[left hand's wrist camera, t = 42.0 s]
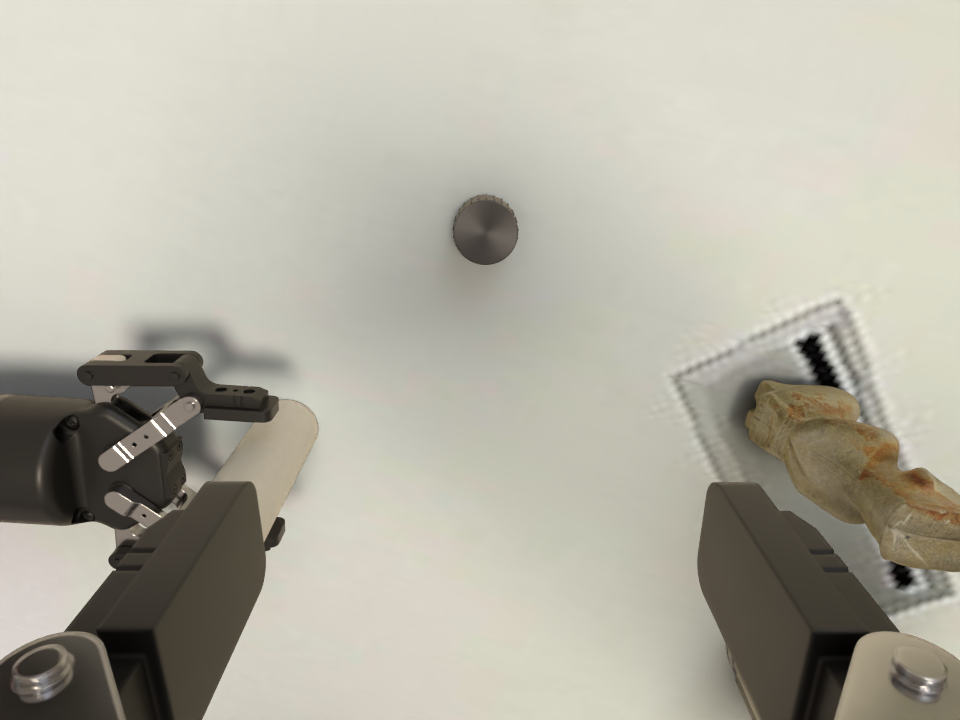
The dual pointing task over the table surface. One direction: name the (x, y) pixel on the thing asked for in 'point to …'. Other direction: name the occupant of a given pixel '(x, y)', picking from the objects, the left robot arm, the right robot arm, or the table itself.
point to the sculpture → (857, 473)
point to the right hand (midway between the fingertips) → (278, 473)
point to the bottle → (273, 457)
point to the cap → (485, 230)
